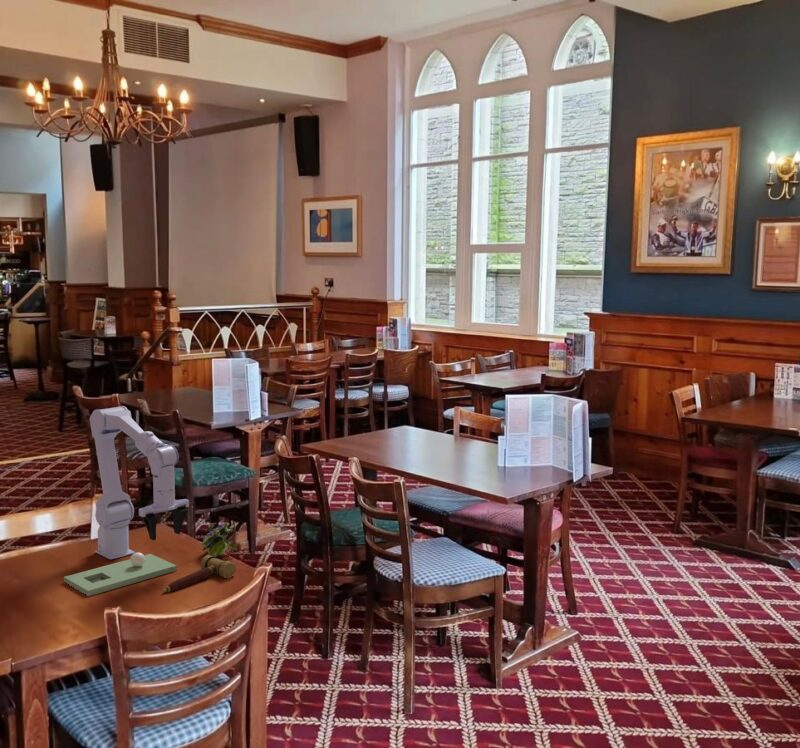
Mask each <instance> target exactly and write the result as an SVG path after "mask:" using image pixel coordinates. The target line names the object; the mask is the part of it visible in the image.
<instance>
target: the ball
mask: <svg viewBox="0 0 800 748" xmlns="http://www.w3.org/2000/svg"><path fill="white" fill-rule="evenodd" d="M129 559H130V562H131V564H132V565H133V566H135V567H140V566H142V565H143V564H144V562H145V556H144V554H143V553H142V552H135V553H134V554H131V555H130V558H129Z"/></svg>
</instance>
